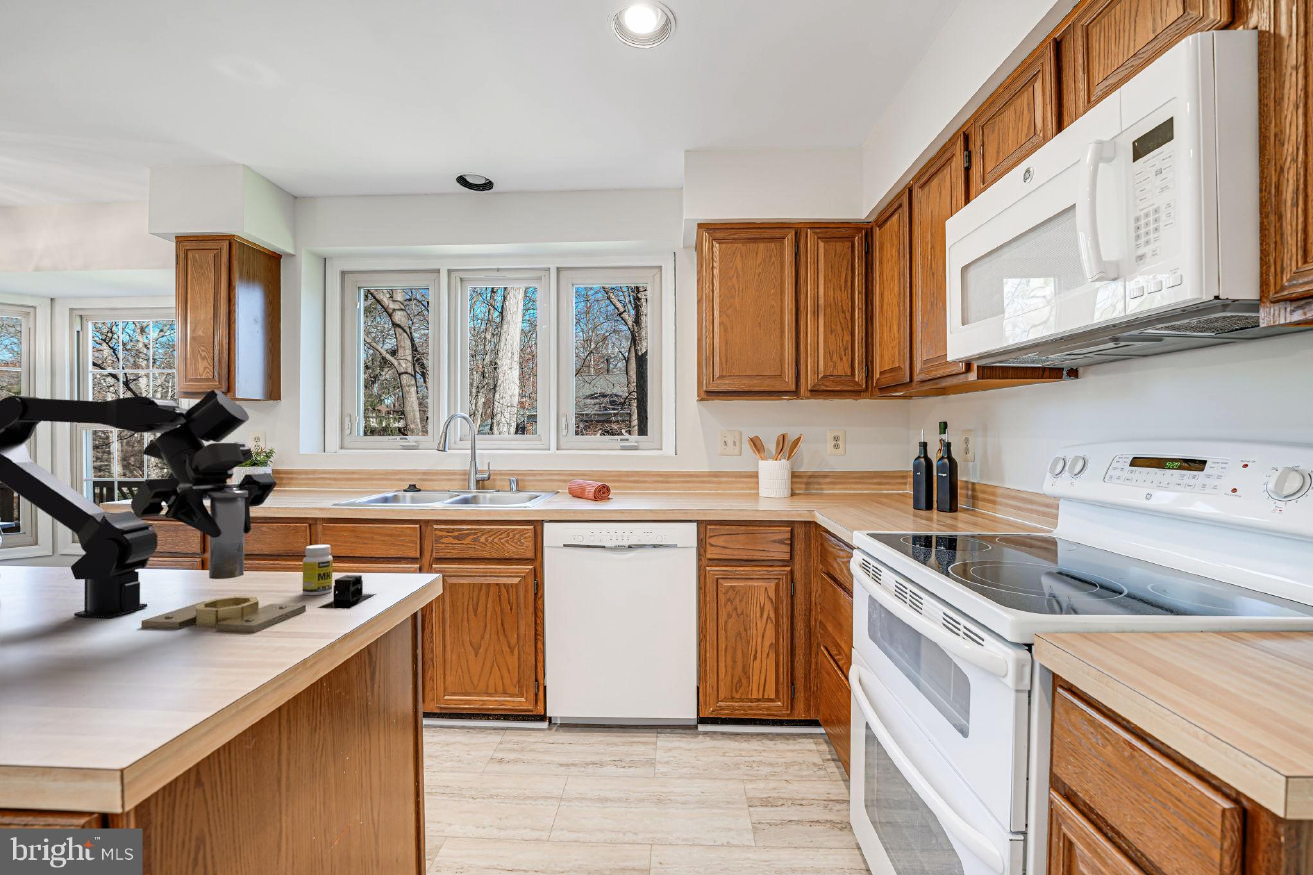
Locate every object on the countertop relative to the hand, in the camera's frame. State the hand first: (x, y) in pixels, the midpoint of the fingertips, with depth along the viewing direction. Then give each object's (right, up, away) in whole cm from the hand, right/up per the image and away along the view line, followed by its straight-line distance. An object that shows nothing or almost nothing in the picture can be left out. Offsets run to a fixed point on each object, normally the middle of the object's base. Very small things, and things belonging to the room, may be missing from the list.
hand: (232, 533), depth 95 cm
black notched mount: (+12, -14, +12) cm, 22 cm away
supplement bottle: (+4, -14, +17) cm, 22 cm away
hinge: (-1, -13, +1) cm, 13 cm away
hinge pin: (-1, -7, +1) cm, 7 cm away
